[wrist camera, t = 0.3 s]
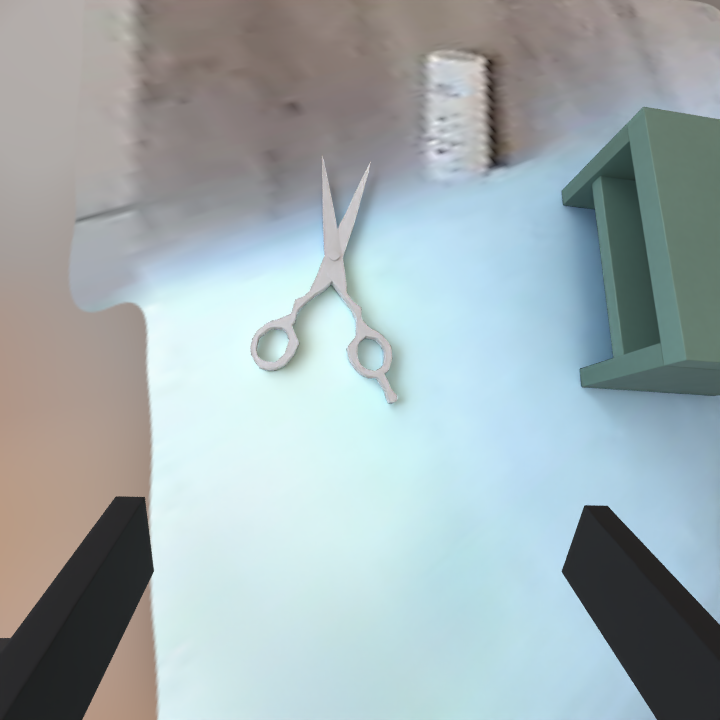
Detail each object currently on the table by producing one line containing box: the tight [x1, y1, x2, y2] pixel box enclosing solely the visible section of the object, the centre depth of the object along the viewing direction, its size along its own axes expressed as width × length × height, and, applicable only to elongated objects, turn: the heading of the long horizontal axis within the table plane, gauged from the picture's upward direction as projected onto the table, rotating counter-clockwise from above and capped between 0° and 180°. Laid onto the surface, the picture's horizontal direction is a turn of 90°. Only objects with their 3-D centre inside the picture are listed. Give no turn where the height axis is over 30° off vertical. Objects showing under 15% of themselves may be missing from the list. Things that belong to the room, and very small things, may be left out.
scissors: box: [251, 155, 397, 403], centre depth 30 cm, size 11×1×20 cm
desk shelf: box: [562, 107, 720, 396], centre depth 30 cm, size 18×12×9 cm, turn 178°
